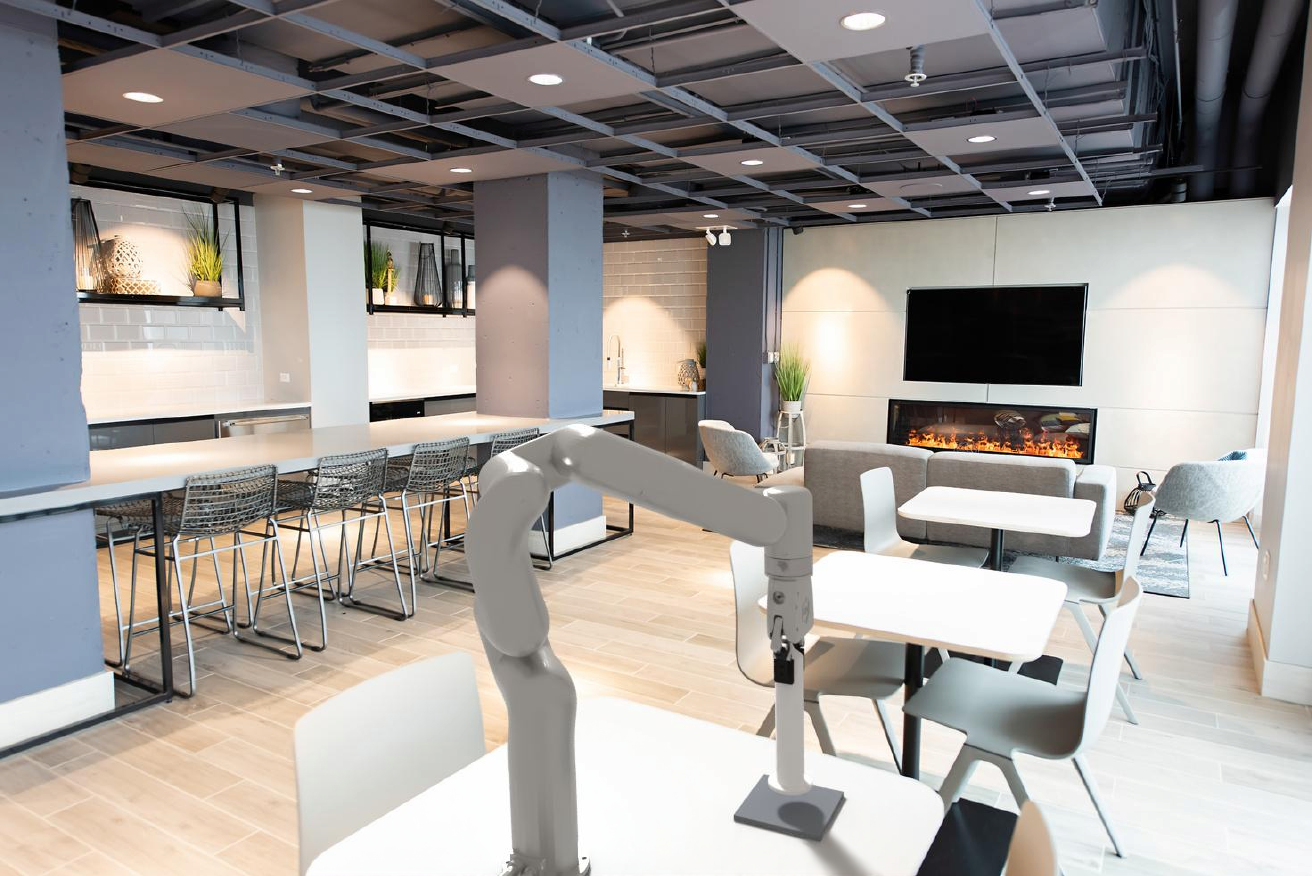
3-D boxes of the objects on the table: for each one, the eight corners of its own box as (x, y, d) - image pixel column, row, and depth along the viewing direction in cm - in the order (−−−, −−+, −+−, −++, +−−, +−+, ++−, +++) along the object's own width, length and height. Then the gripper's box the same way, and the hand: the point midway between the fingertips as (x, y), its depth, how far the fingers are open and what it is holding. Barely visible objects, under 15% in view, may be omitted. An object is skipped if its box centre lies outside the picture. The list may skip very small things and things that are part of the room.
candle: (811, 798, 134) (811, 644, 131) (766, 794, 135) (764, 642, 132) (812, 775, 141) (812, 628, 138) (769, 771, 142) (768, 626, 139)
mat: (819, 841, 129) (819, 836, 129) (733, 819, 135) (733, 814, 135) (844, 796, 142) (844, 791, 141) (763, 778, 148) (763, 774, 148)
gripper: (794, 581, 125) (795, 701, 127) (826, 554, 140) (827, 662, 142) (746, 576, 128) (748, 693, 130) (782, 550, 143) (783, 655, 145)
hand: (789, 675), depth 136 cm, fingers closed on candle, 4 cm apart
